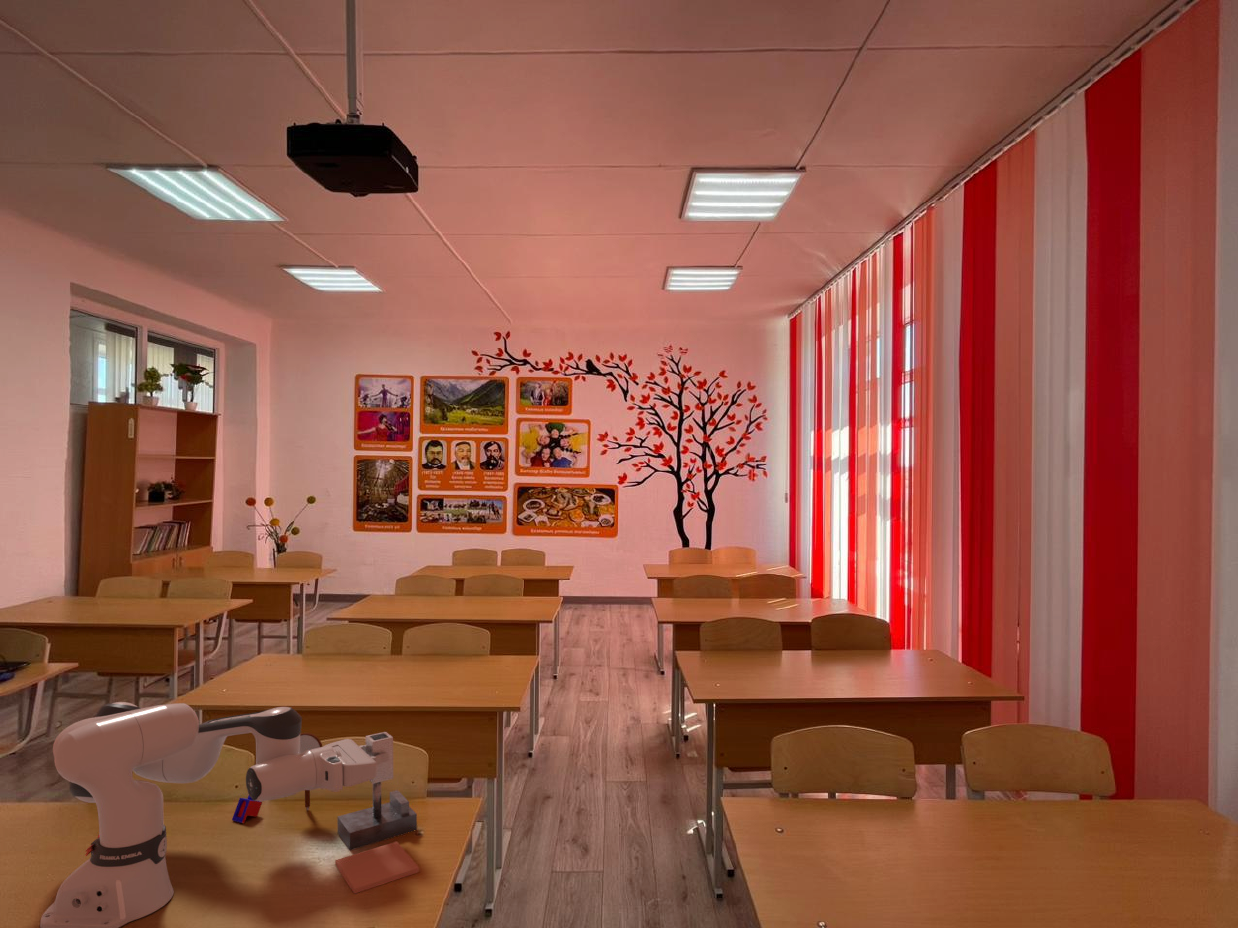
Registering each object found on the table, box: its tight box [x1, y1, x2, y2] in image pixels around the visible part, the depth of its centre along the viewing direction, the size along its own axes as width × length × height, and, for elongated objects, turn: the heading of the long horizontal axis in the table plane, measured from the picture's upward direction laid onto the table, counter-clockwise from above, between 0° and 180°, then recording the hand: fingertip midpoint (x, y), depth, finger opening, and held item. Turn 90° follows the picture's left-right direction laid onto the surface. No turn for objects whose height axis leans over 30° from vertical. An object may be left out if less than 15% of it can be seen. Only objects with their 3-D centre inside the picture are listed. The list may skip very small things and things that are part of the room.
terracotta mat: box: [334, 841, 420, 895], centre depth 169 cm, size 14×14×1 cm
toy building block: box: [231, 795, 263, 824], centre depth 194 cm, size 4×4×8 cm
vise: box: [337, 782, 418, 851], centre depth 185 cm, size 16×10×13 cm, turn 126°
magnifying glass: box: [300, 732, 323, 811], centre depth 197 cm, size 9×2×20 cm, turn 81°
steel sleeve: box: [365, 731, 394, 785], centre depth 186 cm, size 5×5×10 cm
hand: (382, 751), depth 187 cm, fingers closed on steel sleeve, 5 cm apart
